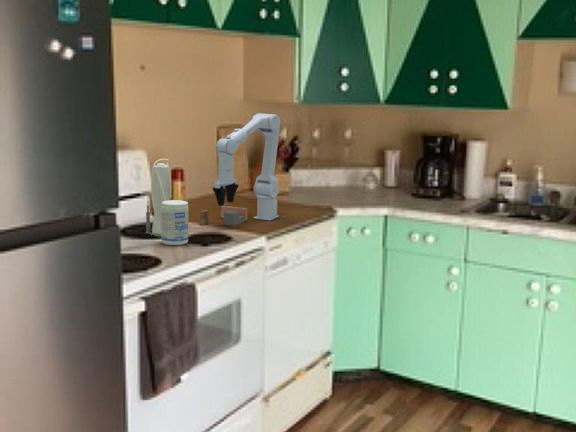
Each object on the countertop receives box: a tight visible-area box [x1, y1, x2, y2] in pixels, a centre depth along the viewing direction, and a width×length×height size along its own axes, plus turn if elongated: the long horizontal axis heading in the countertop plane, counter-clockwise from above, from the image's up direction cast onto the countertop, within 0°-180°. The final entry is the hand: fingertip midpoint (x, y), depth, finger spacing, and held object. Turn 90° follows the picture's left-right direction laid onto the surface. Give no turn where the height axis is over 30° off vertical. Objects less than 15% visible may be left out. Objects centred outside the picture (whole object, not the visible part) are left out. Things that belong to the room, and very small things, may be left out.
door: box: [220, 205, 248, 222], centre depth 276 cm, size 11×1×5 cm, turn 70°
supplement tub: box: [160, 199, 189, 246], centre depth 234 cm, size 10×10×15 cm
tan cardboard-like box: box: [199, 203, 229, 226], centre depth 273 cm, size 20×2×6 cm, turn 157°
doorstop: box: [223, 211, 245, 227], centre depth 270 cm, size 9×4×5 cm, turn 157°
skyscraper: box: [145, 158, 172, 238], centre depth 246 cm, size 8×8×28 cm
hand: (225, 203), depth 261 cm, fingers open, 7 cm apart
